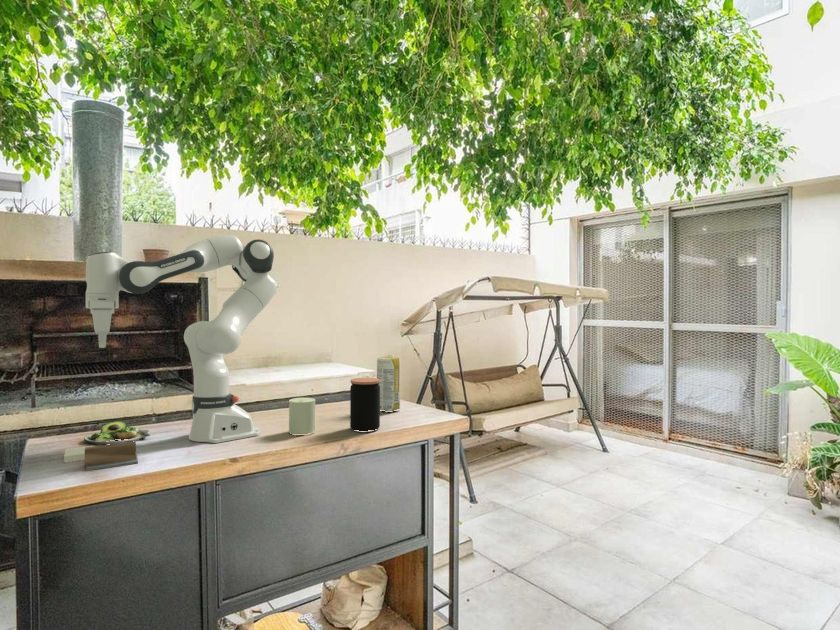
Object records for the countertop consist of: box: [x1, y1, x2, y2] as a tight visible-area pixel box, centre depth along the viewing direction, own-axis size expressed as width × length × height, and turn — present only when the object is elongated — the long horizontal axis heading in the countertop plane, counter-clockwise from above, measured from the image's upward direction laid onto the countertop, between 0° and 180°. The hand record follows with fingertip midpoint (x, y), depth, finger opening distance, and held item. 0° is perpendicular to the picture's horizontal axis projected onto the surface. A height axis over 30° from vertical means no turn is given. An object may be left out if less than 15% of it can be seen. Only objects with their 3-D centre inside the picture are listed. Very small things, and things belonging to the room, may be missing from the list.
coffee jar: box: [349, 377, 381, 431], centre depth 178 cm, size 11×11×18 cm
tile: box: [63, 445, 95, 463], centre depth 144 cm, size 7×2×8 cm
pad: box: [85, 454, 139, 472], centre depth 138 cm, size 12×7×1 cm, turn 122°
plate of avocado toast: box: [83, 420, 151, 445], centre depth 164 cm, size 19×18×5 cm
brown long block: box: [84, 441, 137, 467], centre depth 138 cm, size 3×12×4 cm, turn 122°
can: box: [288, 397, 316, 434], centre depth 173 cm, size 9×9×12 cm
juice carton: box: [376, 353, 401, 411], centre depth 209 cm, size 9×8×24 cm
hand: (102, 346), depth 156 cm, fingers open, 8 cm apart
